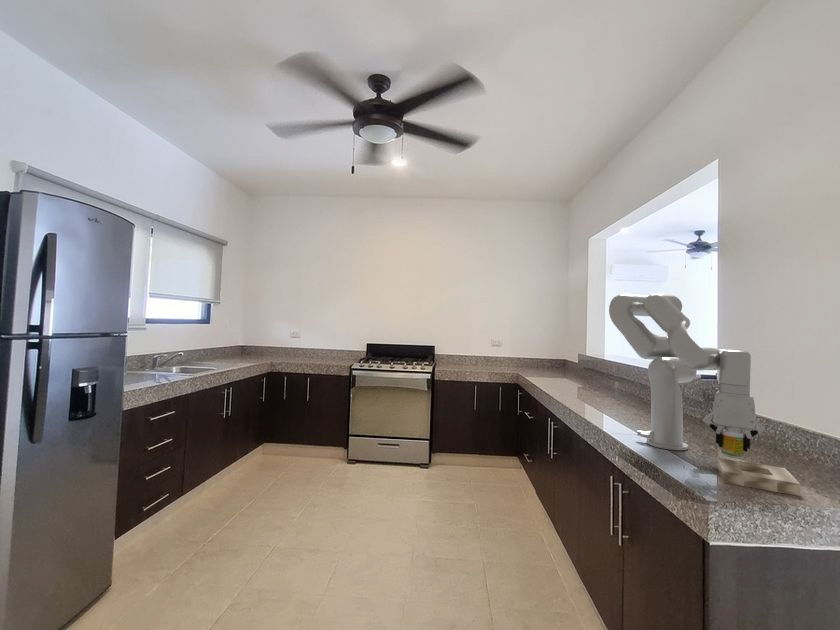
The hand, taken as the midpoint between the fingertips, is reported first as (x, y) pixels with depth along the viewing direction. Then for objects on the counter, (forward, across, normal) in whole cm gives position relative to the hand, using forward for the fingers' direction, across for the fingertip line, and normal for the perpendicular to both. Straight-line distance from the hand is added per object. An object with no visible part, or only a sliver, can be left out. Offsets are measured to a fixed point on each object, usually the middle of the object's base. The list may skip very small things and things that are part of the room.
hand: (732, 447), depth 120 cm
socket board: (+4, +3, -16) cm, 17 cm away
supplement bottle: (+3, 0, 0) cm, 3 cm away
